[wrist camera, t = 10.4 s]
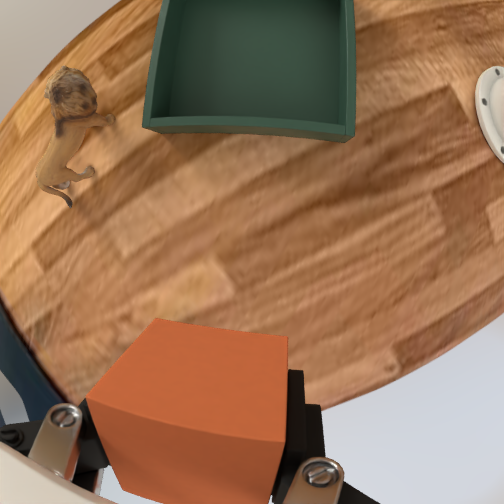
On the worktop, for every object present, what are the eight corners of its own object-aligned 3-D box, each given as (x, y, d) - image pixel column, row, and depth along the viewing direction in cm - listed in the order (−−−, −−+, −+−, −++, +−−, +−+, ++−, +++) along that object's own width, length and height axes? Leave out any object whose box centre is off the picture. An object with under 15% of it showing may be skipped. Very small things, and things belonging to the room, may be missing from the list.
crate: (344, -6, 21) (350, -27, 17) (344, 142, 25) (354, 136, 21) (182, -7, 23) (169, -26, 19) (160, 133, 27) (141, 127, 23)
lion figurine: (93, 81, 26) (42, 61, 18) (129, 86, 26) (79, 62, 17) (59, 201, 30) (5, 211, 21) (91, 214, 30) (35, 228, 21)
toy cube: (288, 336, 10) (285, 441, 6) (272, 429, 12) (262, 522, 7) (155, 317, 11) (84, 396, 6) (164, 410, 12) (122, 490, 7)
